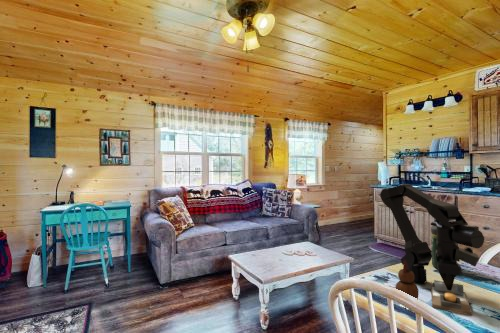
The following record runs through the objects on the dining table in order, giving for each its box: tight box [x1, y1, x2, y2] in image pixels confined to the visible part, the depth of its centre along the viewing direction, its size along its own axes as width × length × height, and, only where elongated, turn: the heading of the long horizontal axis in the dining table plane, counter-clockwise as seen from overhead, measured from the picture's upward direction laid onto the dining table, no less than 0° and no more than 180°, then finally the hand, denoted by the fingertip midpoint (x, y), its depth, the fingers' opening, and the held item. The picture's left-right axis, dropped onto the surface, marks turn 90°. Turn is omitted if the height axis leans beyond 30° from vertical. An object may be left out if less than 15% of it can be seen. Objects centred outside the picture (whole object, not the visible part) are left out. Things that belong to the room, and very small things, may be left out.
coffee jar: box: [430, 225, 438, 269], centre depth 121 cm, size 10×8×19 cm
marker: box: [430, 279, 465, 296], centre depth 95 cm, size 9×3×3 cm, turn 57°
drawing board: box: [430, 286, 473, 316], centre depth 91 cm, size 10×15×2 cm, turn 147°
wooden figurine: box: [394, 261, 419, 300], centre depth 90 cm, size 7×6×15 cm
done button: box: [445, 293, 456, 302], centre depth 87 cm, size 3×3×2 cm
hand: (448, 284), depth 94 cm, fingers open, 9 cm apart
